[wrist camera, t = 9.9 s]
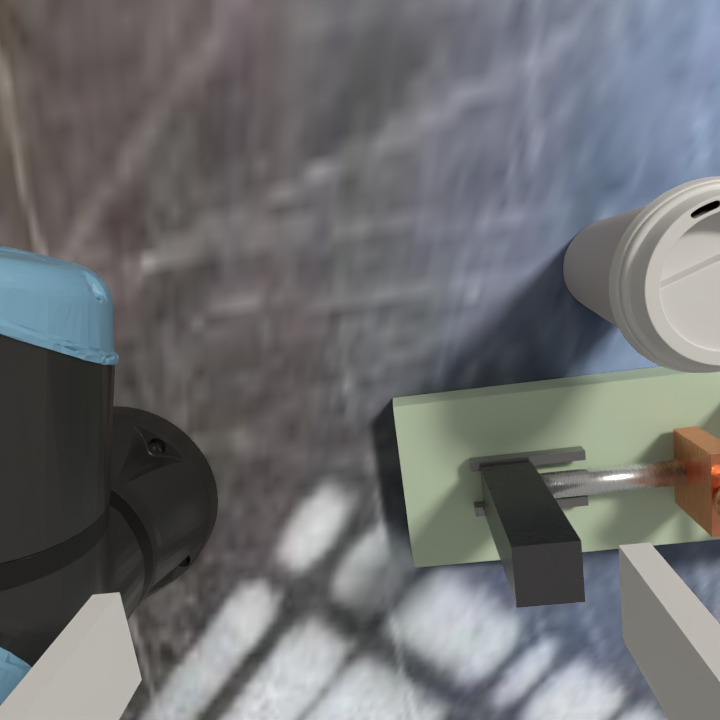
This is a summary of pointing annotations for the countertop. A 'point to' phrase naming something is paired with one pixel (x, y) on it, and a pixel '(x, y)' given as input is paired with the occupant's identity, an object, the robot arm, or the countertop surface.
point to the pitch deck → (542, 432)
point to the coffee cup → (657, 275)
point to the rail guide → (536, 459)
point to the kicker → (545, 517)
